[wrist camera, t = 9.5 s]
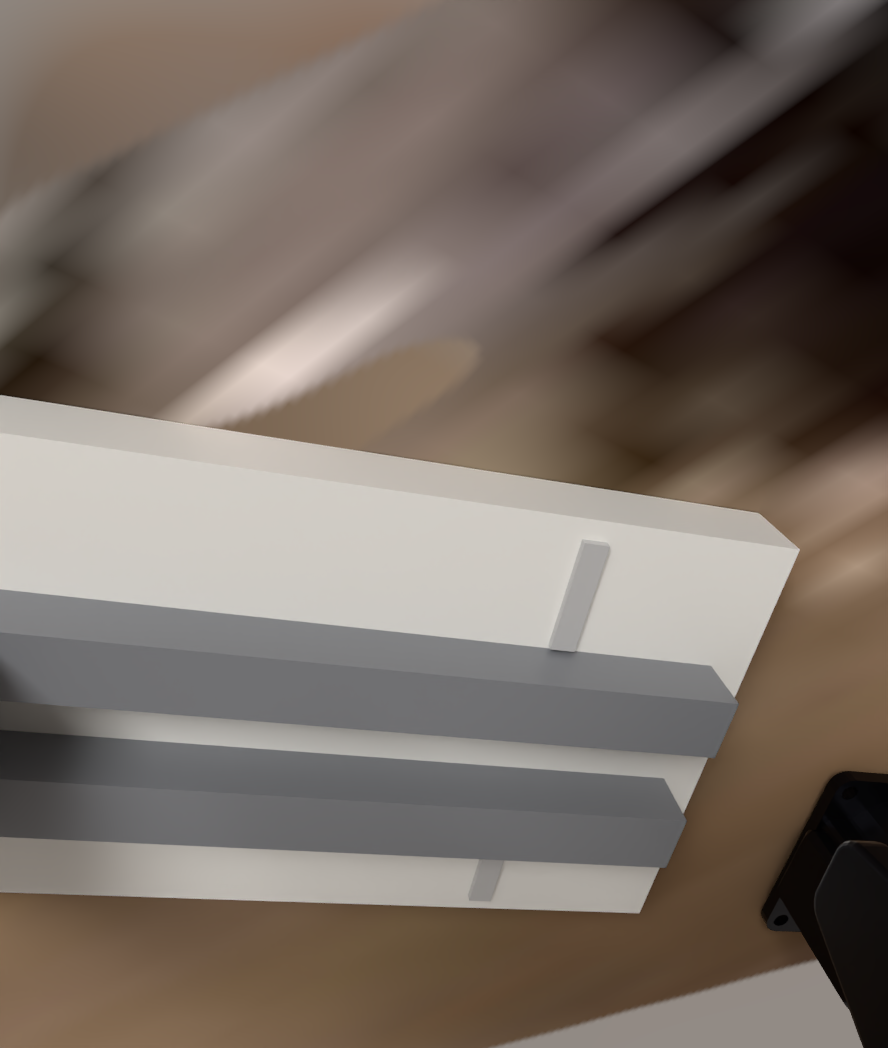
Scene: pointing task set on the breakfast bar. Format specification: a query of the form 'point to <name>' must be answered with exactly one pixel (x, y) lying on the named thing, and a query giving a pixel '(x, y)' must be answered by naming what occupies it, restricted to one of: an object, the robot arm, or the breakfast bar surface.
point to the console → (352, 670)
